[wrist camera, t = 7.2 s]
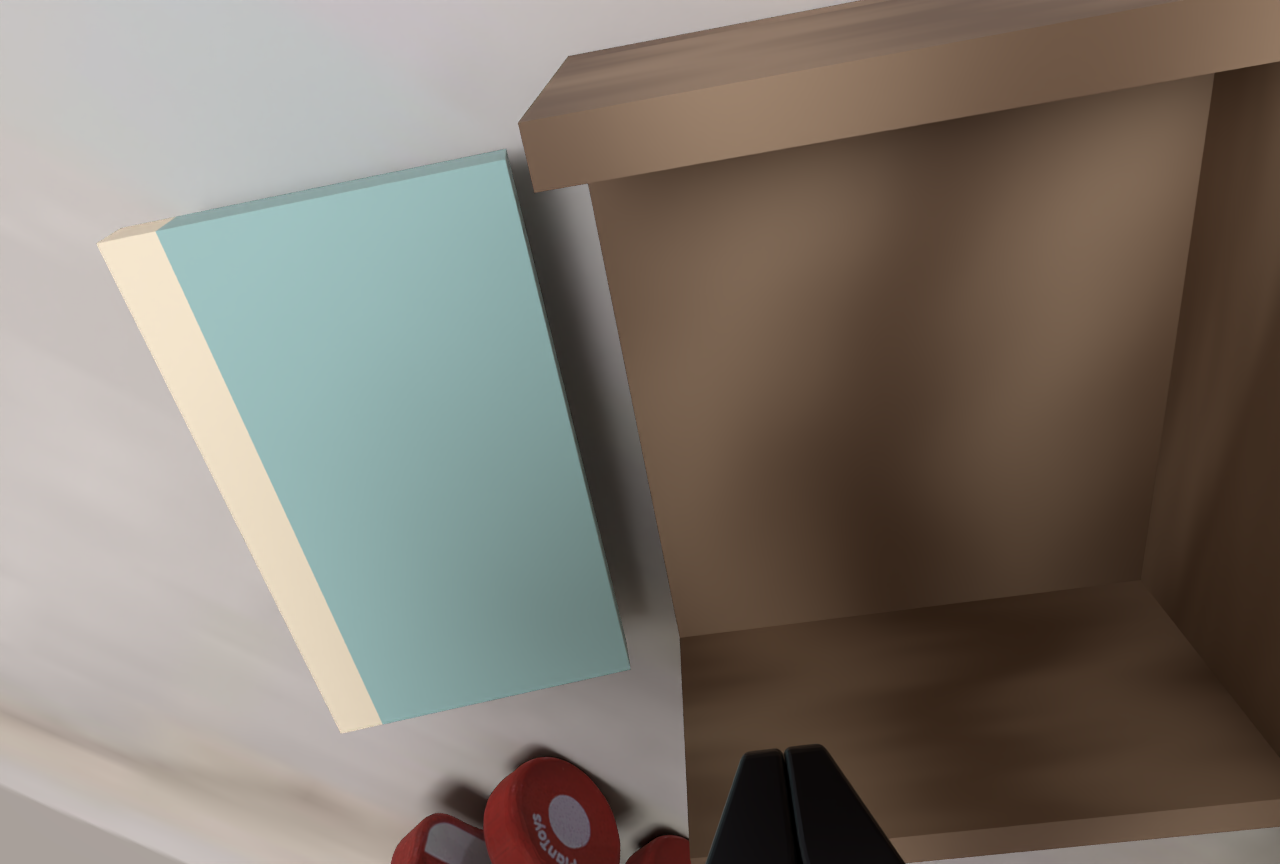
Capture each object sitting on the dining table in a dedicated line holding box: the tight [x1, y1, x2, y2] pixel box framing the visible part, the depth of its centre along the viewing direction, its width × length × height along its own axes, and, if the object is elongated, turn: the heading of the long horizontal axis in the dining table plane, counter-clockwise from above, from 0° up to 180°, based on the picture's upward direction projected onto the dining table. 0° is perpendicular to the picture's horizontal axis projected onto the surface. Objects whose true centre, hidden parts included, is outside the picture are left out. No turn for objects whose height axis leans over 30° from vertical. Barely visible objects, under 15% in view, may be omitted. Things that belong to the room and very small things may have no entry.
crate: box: [518, 0, 1280, 864], centre depth 16 cm, size 12×14×7 cm
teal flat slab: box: [96, 149, 631, 733], centre depth 18 cm, size 1×12×7 cm
